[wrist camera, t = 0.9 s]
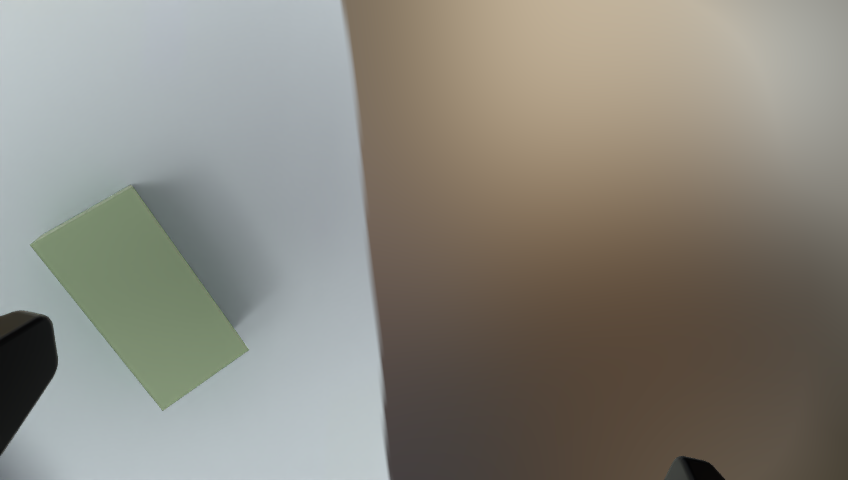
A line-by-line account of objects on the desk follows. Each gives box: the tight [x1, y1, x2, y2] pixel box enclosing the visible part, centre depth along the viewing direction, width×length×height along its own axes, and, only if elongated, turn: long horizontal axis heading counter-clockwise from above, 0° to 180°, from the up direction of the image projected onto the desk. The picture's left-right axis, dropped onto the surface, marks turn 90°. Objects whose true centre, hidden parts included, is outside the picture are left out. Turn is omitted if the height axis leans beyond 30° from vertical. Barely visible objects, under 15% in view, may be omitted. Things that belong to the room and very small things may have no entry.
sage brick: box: [30, 185, 249, 411], centre depth 20 cm, size 6×3×3 cm, turn 32°
